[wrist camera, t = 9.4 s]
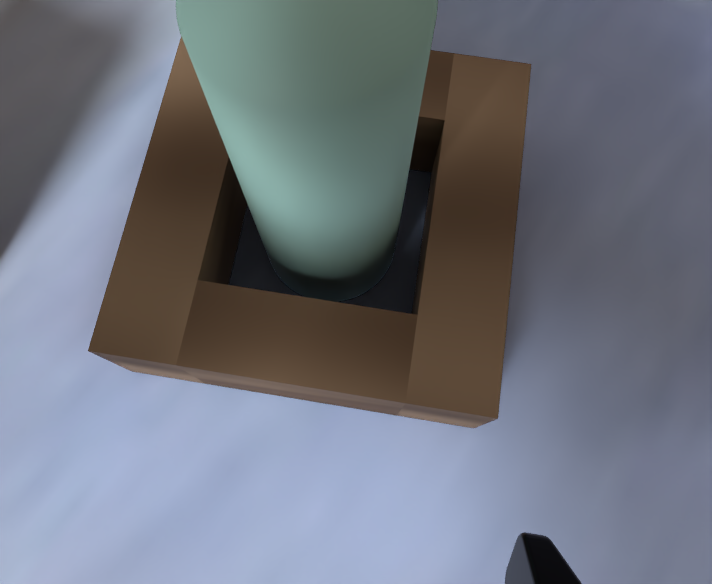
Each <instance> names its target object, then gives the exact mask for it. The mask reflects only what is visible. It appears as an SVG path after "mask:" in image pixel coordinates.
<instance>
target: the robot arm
mask: <svg viewBox="0 0 712 584" xmlns="http://www.w3.org/2000/svg"><path fill="white" fill-rule="evenodd" d="M505 584H582V583H581V582H580V580H579V579H578V578H577V576H576V575H575V573H574V572H573V571H572V569H571V568H570V566H569V565H568V564H567V562H566V561H565V559H564V558H563V557H562V555H561V554H560V552H559V551H558V549H557V548H556V547H555V545H554V544H553V542H552V541H551V540H550V539H549V538H548V537H546V536H543V535H537V534H531V533H525V532H524V533H521V534H520V535H519V536H518V538H517V540H516V543H515V546H514V549H513V552H512V555H511V558H510V561H509V564H508V567H507V570H506V577H505Z"/></svg>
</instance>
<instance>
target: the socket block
mask: <svg viewBox="0 0 712 584" xmlns="http://www.w3.org/2000/svg"><path fill="white" fill-rule="evenodd" d="M530 72H531V64H527V63H520V62H512V61H505V60H498V59H491V58H484V57H476V56H469V55H462V54H455V53H448V52H440V51H433V50H430V56H429V61H428V67H427V72H426V78H425V84H424V89H423V95H422V100H421V106H420V112H419V117H418V123H417V129H416V134H415V140H414V145H413V151H412V157H411V162H410V168H409V169H412V170H419V171H425V172H431V180H430V187H429V194H428V201H427V208H426V215H425V222H424V229H423V236H422V243H421V250H420V257H419V264H418V271H417V278H416V285H415V292H414V299H413V306H412V313H411V314H409V313H403V312H397V311H390V310H384V309H378V308H371V307H365V306H359V305H352V304H346V303H340V302H333V301H327V300H321V299H315V298H308V297H302V296H296V295H289V294H283V293H277V292H270V291H264V290H258V289H251V288H245V287H239V286H233V285H229V281H230V277H231V272H232V268H233V264H234V260H235V255H236V251H237V247H238V243H239V238H240V234H241V230H242V226H243V221H244V217H245V213H246V209H247V205H248V204H247V201H246V199H245V196H244V194H243V191H242V189H241V186H240V184H239V181H238V178H237V176H236V173H235V171H234V168H233V166H232V163H231V161H230V158H229V156H228V153H227V151H226V148H225V145H224V143H223V140H222V138H221V135H220V133H219V130H218V128H217V125H216V123H215V120H214V117H213V115H212V112H211V110H210V107H209V105H208V102H207V100H206V97H205V95H204V92H203V90H202V87H201V84H200V82H199V79H198V77H197V74H196V72H195V69H194V67H193V64H192V62H191V59H190V57H189V54H188V51H187V49H186V46H185V44H184V41H183V39H182V36H181V39H180V43H179V46H178V49H177V53H176V56H175V59H174V63H173V66H172V70H171V73H170V76H169V80H168V83H167V86H166V90H165V93H164V96H163V100H162V103H161V107H160V110H159V113H158V117H157V120H156V123H155V127H154V130H153V134H152V137H151V140H150V144H149V147H148V150H147V154H146V157H145V160H144V164H143V167H142V171H141V174H140V177H139V181H138V184H137V187H136V191H135V194H134V198H133V201H132V204H131V208H130V211H129V214H128V218H127V221H126V224H125V228H124V231H123V235H122V238H121V241H120V245H119V248H118V251H117V255H116V258H115V261H114V265H113V268H112V272H111V275H110V278H109V282H108V285H107V288H106V292H105V295H104V299H103V302H102V305H101V309H100V312H99V315H98V319H97V322H96V325H95V329H94V332H93V336H92V339H91V342H90V346H89V349H88V351H89V352H92V353H94V354H96V355H98V356H100V357H102V358H104V359H106V360H109V361H111V362H113V363H115V364H117V365H119V366H121V367H123V368H126V369H128V370H130V371H133V372H139V373H145V374H151V375H157V376H163V377H169V378H175V379H181V380H187V381H193V382H199V383H205V384H211V385H217V386H223V387H229V388H235V389H241V390H247V391H253V392H259V393H265V394H271V395H277V396H283V397H289V398H295V399H302V400H308V401H314V402H320V403H326V404H332V405H338V406H344V407H350V408H356V409H362V410H368V411H374V412H380V413H386V414H392V415H398V416H404V417H410V418H416V419H422V420H428V421H434V422H440V423H446V424H452V425H458V426H464V427H470V428H476V427H478V426H481V425H483V424H486V423H488V422H491V421H493V420H496V419H498V412H499V401H500V391H501V380H502V369H503V359H504V348H505V337H506V327H507V316H508V306H509V295H510V284H511V274H512V263H513V252H514V242H515V231H516V221H517V210H518V199H519V189H520V178H521V168H522V157H523V146H524V136H525V125H526V114H527V104H528V93H529V83H530Z"/></svg>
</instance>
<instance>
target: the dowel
mask: <svg viewBox="0 0 712 584" xmlns="http://www.w3.org/2000/svg"><path fill="white" fill-rule="evenodd" d="M437 6H438V0H176V14H177V22H178V26H179V30H180V34H181V36H182V39H183V41H184V44H185V46H186V49H187V51H188V54H189V57H190V59H191V62H192V64H193V67H194V69H195V72H196V74H197V77H198V79H199V82H200V84H201V87H202V90H203V92H204V95H205V97H206V100H207V102H208V105H209V107H210V110H211V112H212V115H213V117H214V120H215V123H216V125H217V128H218V130H219V133H220V135H221V138H222V140H223V143H224V145H225V148H226V151H227V153H228V156H229V158H230V161H231V163H232V166H233V168H234V171H235V173H236V176H237V178H238V181H239V184H240V186H241V189H242V191H243V194H244V196H245V199H246V201H247V204H248V206H249V209H250V211H251V214H252V217H253V219H254V222H255V224H256V227H257V229H258V232H259V234H260V237H261V239H262V242H263V245H264V247H265V250H266V252H267V255H268V257H269V260H270V262H271V265H272V267H273V269H274V271H275V272H276V274H277V275H278V277H279V278H280V279H281V280H282V282H284V283H285V284H286V285H287V286H288V287H289V288H290V289H292V290H293V291H295V292H296V293H298V294H300V295H302V296H304V297H308V298H315V299H321V300H327V301H333V302H337V301H344V300H348V299H351V298H354V297H357V296H359V295H361V294H363V293H365V292H367V291H368V290H370V289H371V288H372V287H373V286H375V285H376V284H377V283H378V282H379V281H380V280H381V279H382V277H383V276H384V275H385V273H386V272H387V270H388V268H389V267H390V264H391V262H392V259H393V256H394V252H395V246H396V241H397V235H398V229H399V224H400V218H401V213H402V207H403V201H404V196H405V190H406V185H407V179H408V173H409V168H410V162H411V157H412V151H413V145H414V140H415V134H416V129H417V123H418V117H419V112H420V106H421V100H422V95H423V89H424V84H425V78H426V72H427V67H428V61H429V56H430V50H431V44H432V39H433V33H434V28H435V22H436V16H437Z"/></svg>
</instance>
